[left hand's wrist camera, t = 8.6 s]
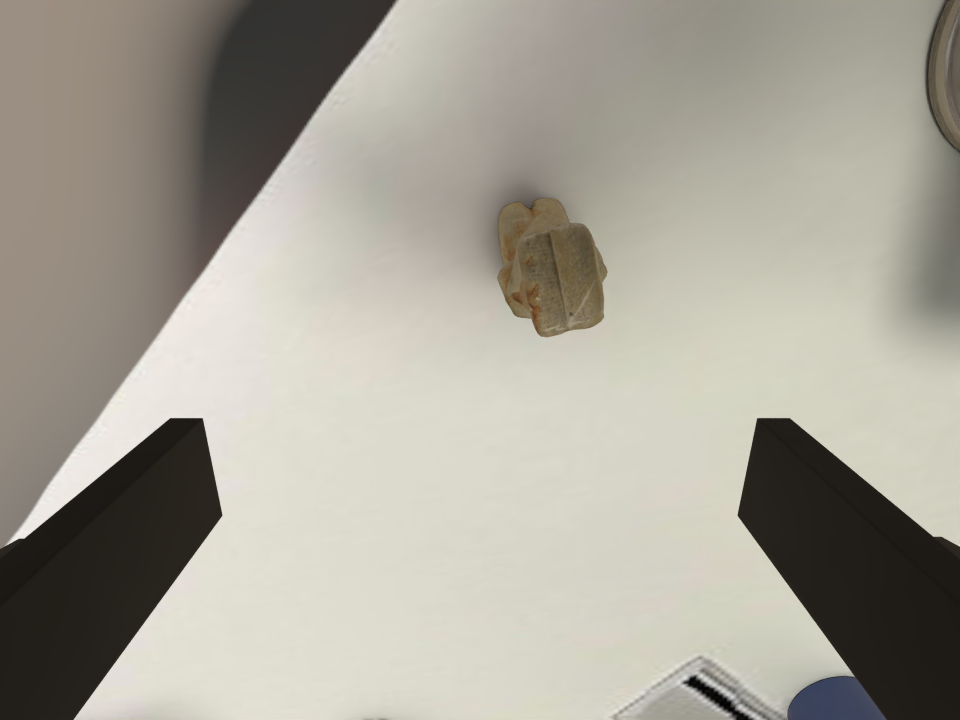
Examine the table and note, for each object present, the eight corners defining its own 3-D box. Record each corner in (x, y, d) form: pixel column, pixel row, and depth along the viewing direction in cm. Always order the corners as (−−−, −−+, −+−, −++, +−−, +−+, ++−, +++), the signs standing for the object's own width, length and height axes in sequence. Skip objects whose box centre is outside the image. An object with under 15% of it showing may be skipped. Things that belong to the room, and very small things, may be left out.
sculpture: (571, 191, 36) (628, 209, 22) (579, 293, 39) (636, 367, 25) (486, 204, 37) (491, 230, 23) (500, 305, 39) (512, 384, 25)
